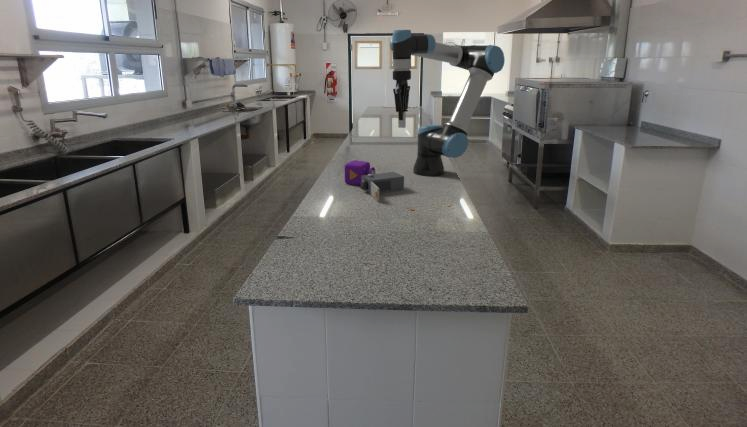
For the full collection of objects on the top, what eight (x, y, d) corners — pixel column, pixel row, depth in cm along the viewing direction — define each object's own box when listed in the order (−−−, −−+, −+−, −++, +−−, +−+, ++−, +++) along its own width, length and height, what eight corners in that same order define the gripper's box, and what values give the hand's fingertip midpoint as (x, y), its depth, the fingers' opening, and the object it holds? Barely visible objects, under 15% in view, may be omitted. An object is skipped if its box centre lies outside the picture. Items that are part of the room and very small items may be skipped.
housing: (393, 184, 219) (393, 170, 217) (403, 189, 212) (404, 174, 210) (358, 189, 212) (358, 174, 210) (367, 194, 204) (367, 179, 202)
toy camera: (373, 187, 216) (373, 165, 212) (343, 185, 218) (342, 163, 215) (377, 181, 226) (378, 159, 222) (349, 179, 228) (348, 158, 225)
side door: (379, 201, 195) (379, 187, 193) (375, 201, 195) (375, 188, 193) (372, 193, 205) (372, 181, 203) (369, 194, 204) (369, 181, 202)
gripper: (399, 68, 208) (399, 124, 216) (386, 70, 197) (387, 129, 205) (416, 68, 205) (415, 125, 213) (404, 71, 194) (404, 130, 202)
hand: (402, 127), depth 209 cm, fingers closed
